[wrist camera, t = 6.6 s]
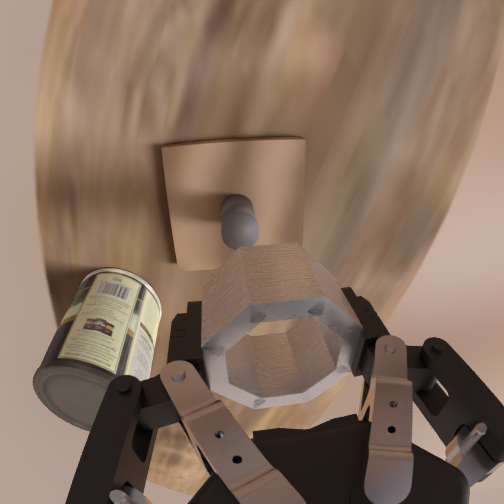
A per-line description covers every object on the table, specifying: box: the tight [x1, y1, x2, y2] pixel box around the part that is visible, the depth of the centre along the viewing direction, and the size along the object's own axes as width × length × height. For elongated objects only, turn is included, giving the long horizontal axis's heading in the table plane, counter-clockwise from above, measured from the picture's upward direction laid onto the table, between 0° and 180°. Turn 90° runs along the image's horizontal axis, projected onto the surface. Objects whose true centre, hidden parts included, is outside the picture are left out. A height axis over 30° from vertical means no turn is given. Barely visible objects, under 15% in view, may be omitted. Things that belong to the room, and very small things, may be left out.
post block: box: [161, 137, 305, 272], centre depth 26 cm, size 12×12×6 cm
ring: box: [201, 243, 364, 409], centre depth 13 cm, size 6×6×4 cm
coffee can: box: [33, 268, 162, 431], centre depth 28 cm, size 10×10×14 cm
